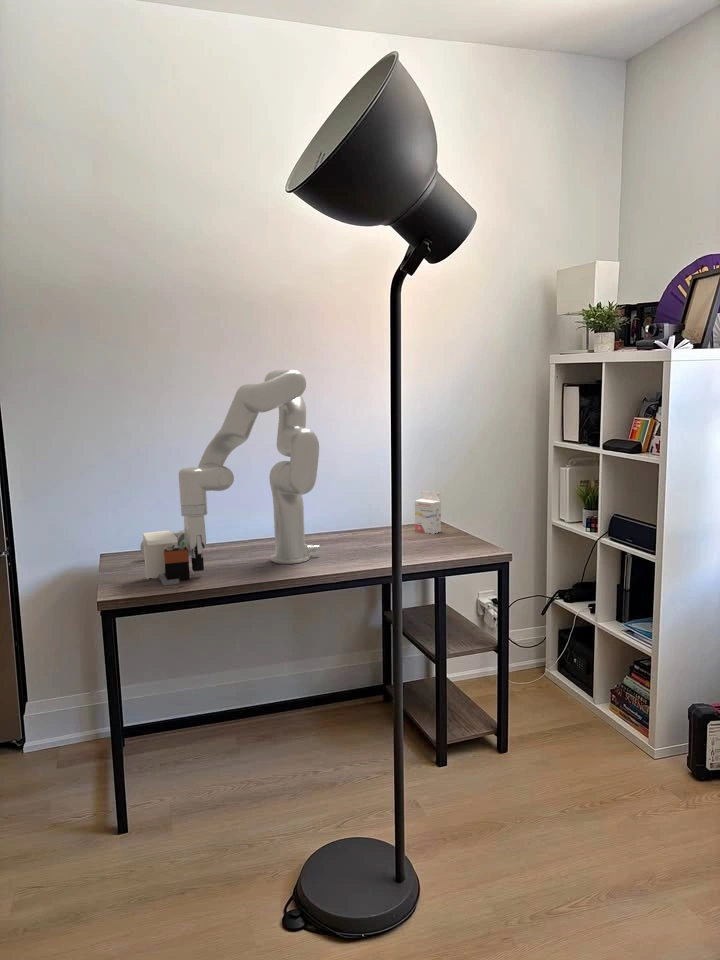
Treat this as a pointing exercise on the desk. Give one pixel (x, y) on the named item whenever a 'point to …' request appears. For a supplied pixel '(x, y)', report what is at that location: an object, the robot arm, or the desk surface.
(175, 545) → the game controller
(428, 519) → the ink cartridge box
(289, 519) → the robot arm
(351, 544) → the desk surface
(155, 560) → the overhang shelf
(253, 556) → the desk surface
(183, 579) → the battery
